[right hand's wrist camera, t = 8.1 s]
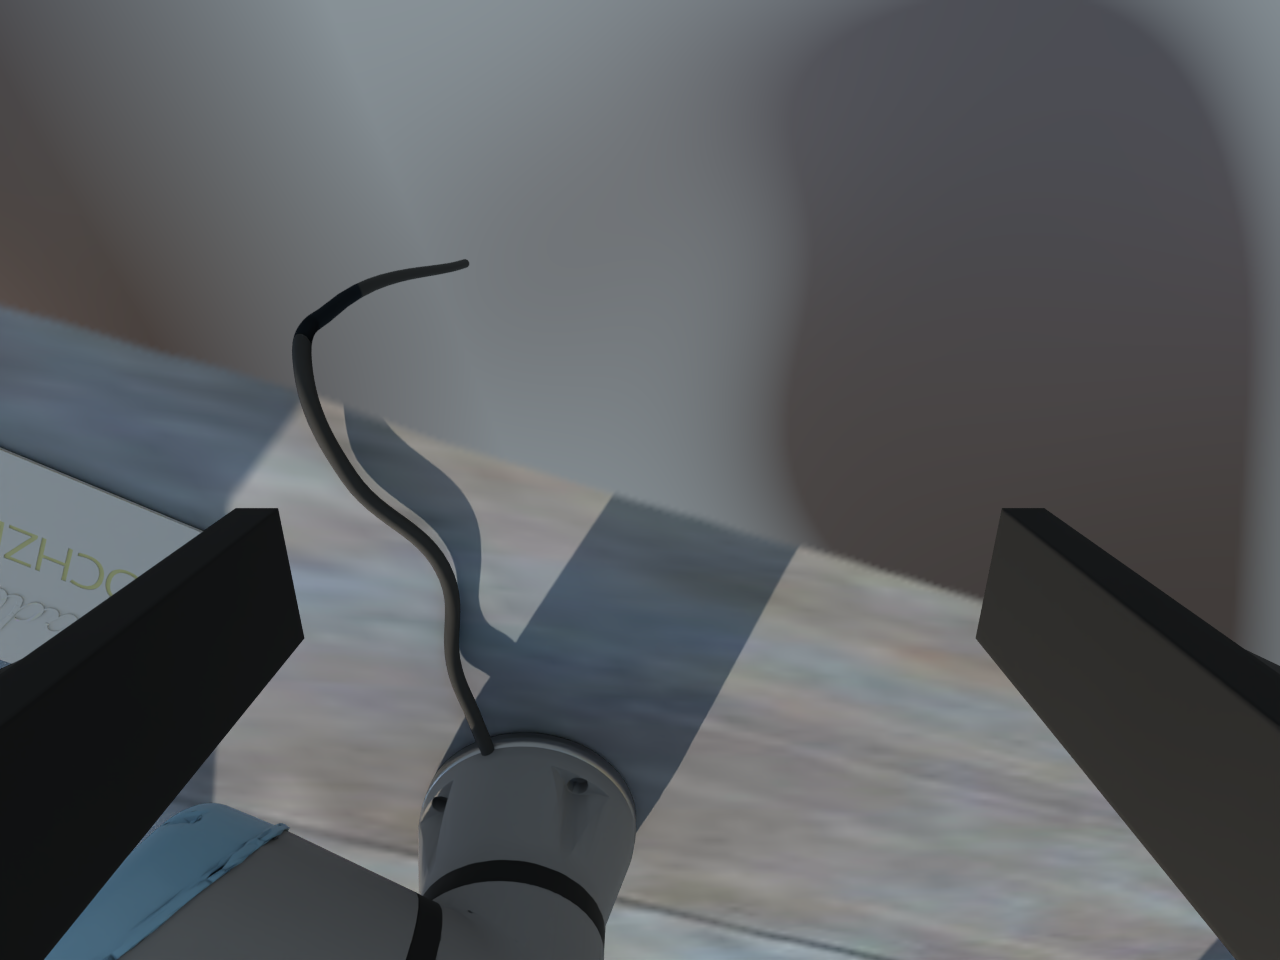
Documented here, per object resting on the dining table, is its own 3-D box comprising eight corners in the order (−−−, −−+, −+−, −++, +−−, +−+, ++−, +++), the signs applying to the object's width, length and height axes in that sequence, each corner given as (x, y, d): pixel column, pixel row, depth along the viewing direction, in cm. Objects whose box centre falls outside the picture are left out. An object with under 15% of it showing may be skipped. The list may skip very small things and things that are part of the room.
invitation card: (251, 554, 42) (191, 730, 47) (254, 552, 42) (194, 727, 47) (-120, 401, 38) (-144, 608, 43) (-115, 400, 39) (-139, 605, 43)
